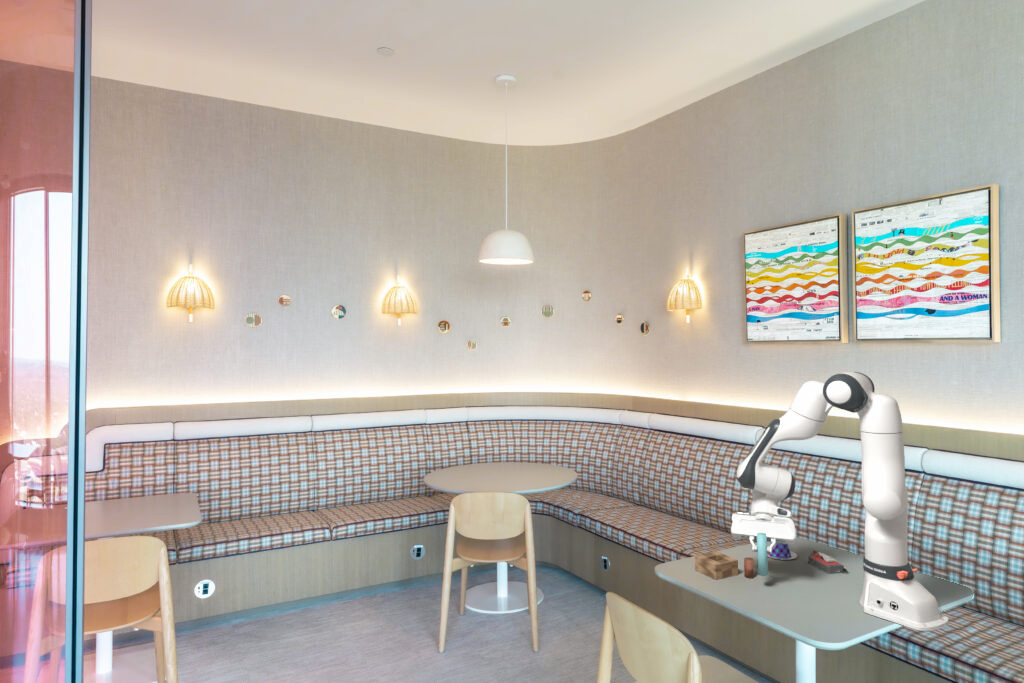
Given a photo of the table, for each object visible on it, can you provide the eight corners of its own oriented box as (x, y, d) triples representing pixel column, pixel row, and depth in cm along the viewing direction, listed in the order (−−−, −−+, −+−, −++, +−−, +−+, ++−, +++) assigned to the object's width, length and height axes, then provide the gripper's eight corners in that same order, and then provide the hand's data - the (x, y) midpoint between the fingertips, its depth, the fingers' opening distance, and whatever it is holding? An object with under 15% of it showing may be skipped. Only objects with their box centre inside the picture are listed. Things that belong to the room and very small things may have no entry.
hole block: (738, 574, 210) (737, 560, 210) (715, 580, 206) (715, 565, 206) (716, 565, 219) (716, 551, 219) (695, 570, 215) (695, 555, 215)
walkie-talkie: (853, 574, 210) (815, 554, 229) (853, 562, 210) (815, 542, 229) (829, 576, 208) (794, 556, 228) (829, 563, 208) (794, 544, 228)
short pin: (755, 577, 208) (755, 559, 208) (749, 579, 206) (749, 561, 206) (748, 574, 210) (748, 557, 210) (742, 575, 209) (742, 558, 209)
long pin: (770, 574, 199) (768, 534, 199) (763, 576, 197) (761, 536, 198) (762, 571, 201) (761, 532, 202) (756, 573, 200) (754, 533, 200)
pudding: (791, 564, 220) (791, 549, 220) (757, 556, 228) (757, 542, 228) (801, 554, 229) (801, 540, 229) (768, 547, 237) (767, 534, 237)
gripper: (731, 506, 211) (727, 543, 202) (796, 512, 201) (795, 551, 192) (733, 516, 215) (730, 552, 206) (797, 522, 205) (796, 560, 196)
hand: (762, 552), depth 199 cm, fingers closed on long pin, 3 cm apart
